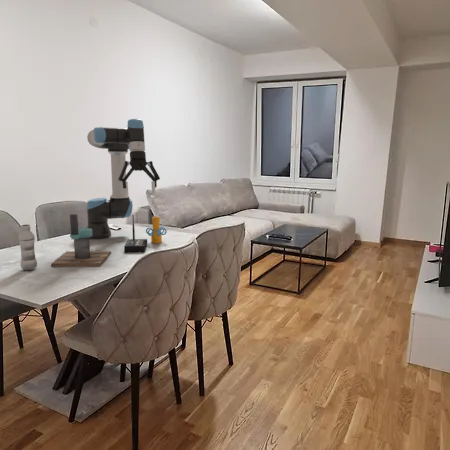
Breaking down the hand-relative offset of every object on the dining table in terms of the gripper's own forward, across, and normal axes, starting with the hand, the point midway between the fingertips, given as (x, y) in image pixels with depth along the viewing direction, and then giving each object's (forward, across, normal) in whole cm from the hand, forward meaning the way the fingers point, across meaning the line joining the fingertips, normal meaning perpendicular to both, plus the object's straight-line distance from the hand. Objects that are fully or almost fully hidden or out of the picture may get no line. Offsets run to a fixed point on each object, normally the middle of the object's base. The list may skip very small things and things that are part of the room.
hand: (140, 194), depth 192 cm
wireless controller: (+28, +3, +22) cm, 36 cm away
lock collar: (+19, -29, +6) cm, 35 cm away
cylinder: (+26, +17, +30) cm, 43 cm away
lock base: (+30, -28, +11) cm, 42 cm away
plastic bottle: (+31, -51, +6) cm, 60 cm away
